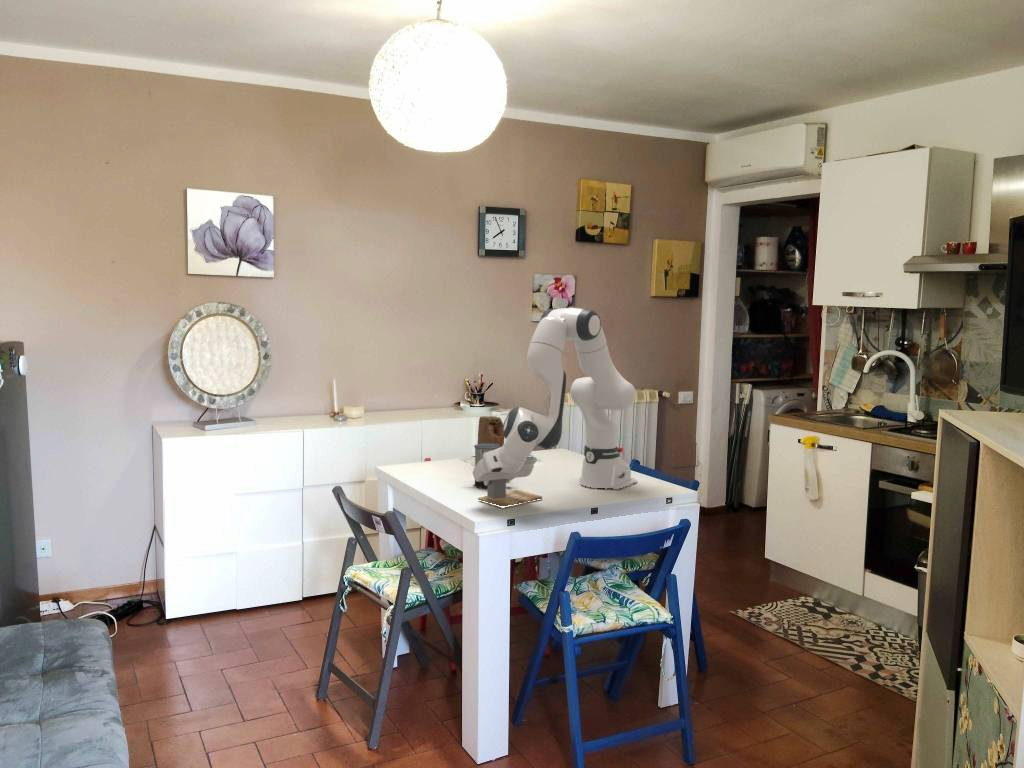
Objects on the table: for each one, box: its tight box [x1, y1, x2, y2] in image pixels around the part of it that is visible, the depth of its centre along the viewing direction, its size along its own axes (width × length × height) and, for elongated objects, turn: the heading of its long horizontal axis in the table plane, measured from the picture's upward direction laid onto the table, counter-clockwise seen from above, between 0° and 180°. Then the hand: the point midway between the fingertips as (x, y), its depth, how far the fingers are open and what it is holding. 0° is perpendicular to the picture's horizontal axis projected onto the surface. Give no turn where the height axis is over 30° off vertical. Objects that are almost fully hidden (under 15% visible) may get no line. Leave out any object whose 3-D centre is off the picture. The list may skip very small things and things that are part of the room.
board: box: [477, 489, 543, 506], centre depth 273 cm, size 18×12×1 cm, turn 134°
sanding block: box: [486, 479, 507, 501], centre depth 270 cm, size 4×4×9 cm
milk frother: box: [473, 443, 500, 490], centre depth 296 cm, size 14×16×15 cm
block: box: [477, 415, 505, 448], centre depth 325 cm, size 11×8×20 cm
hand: (495, 482), depth 271 cm, fingers open, 5 cm apart
